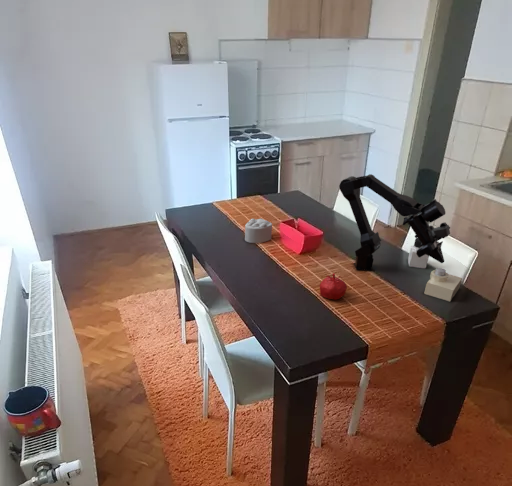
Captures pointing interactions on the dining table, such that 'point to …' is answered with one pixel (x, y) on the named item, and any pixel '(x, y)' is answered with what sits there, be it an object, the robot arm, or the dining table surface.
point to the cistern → (442, 286)
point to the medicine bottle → (414, 259)
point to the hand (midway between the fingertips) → (443, 262)
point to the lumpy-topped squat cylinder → (258, 231)
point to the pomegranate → (332, 287)
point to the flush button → (440, 272)
